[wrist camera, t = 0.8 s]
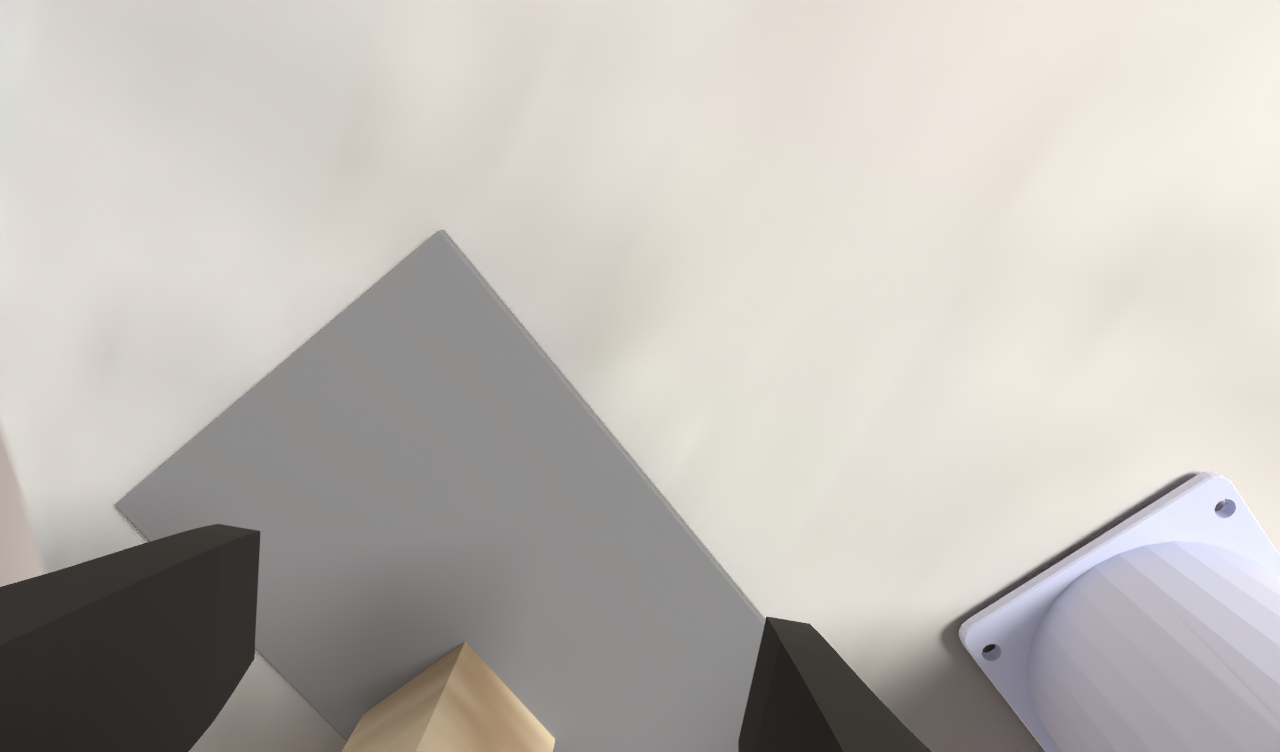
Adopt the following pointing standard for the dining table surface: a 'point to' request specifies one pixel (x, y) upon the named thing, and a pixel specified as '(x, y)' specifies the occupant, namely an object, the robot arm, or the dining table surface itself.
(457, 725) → the birch block
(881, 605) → the dining table surface
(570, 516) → the rubber mat
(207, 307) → the dining table surface
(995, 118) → the dining table surface
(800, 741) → the robot arm
